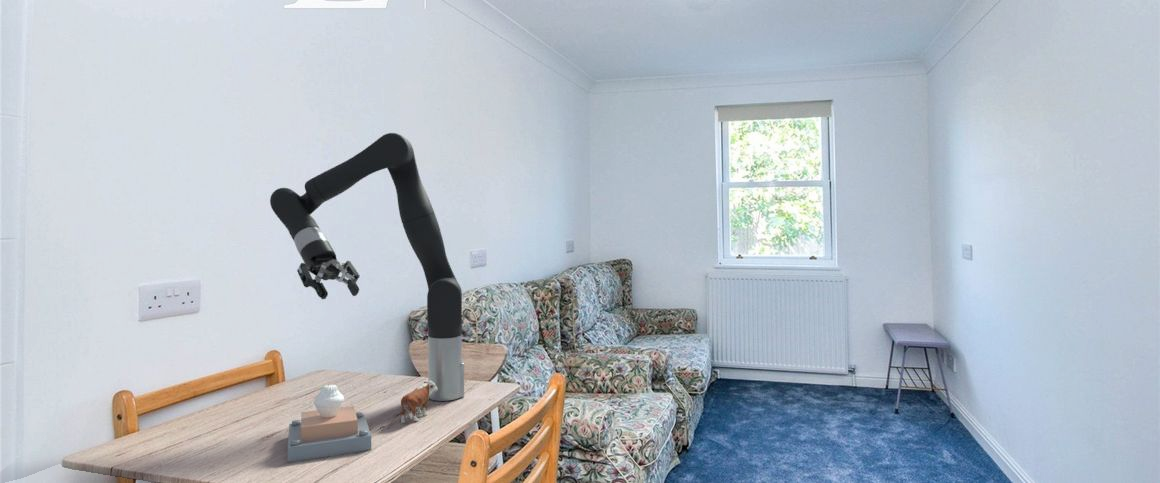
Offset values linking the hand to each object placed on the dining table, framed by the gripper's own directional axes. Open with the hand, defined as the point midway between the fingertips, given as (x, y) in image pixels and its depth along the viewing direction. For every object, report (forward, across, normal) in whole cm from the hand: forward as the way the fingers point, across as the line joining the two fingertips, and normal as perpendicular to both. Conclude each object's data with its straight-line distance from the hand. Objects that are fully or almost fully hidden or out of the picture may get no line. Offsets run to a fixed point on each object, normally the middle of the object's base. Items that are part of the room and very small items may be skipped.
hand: (341, 295), depth 146 cm
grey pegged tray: (+31, -12, +12) cm, 36 cm away
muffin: (+27, -12, +8) cm, 31 cm away
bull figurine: (+33, +11, +11) cm, 36 cm away
